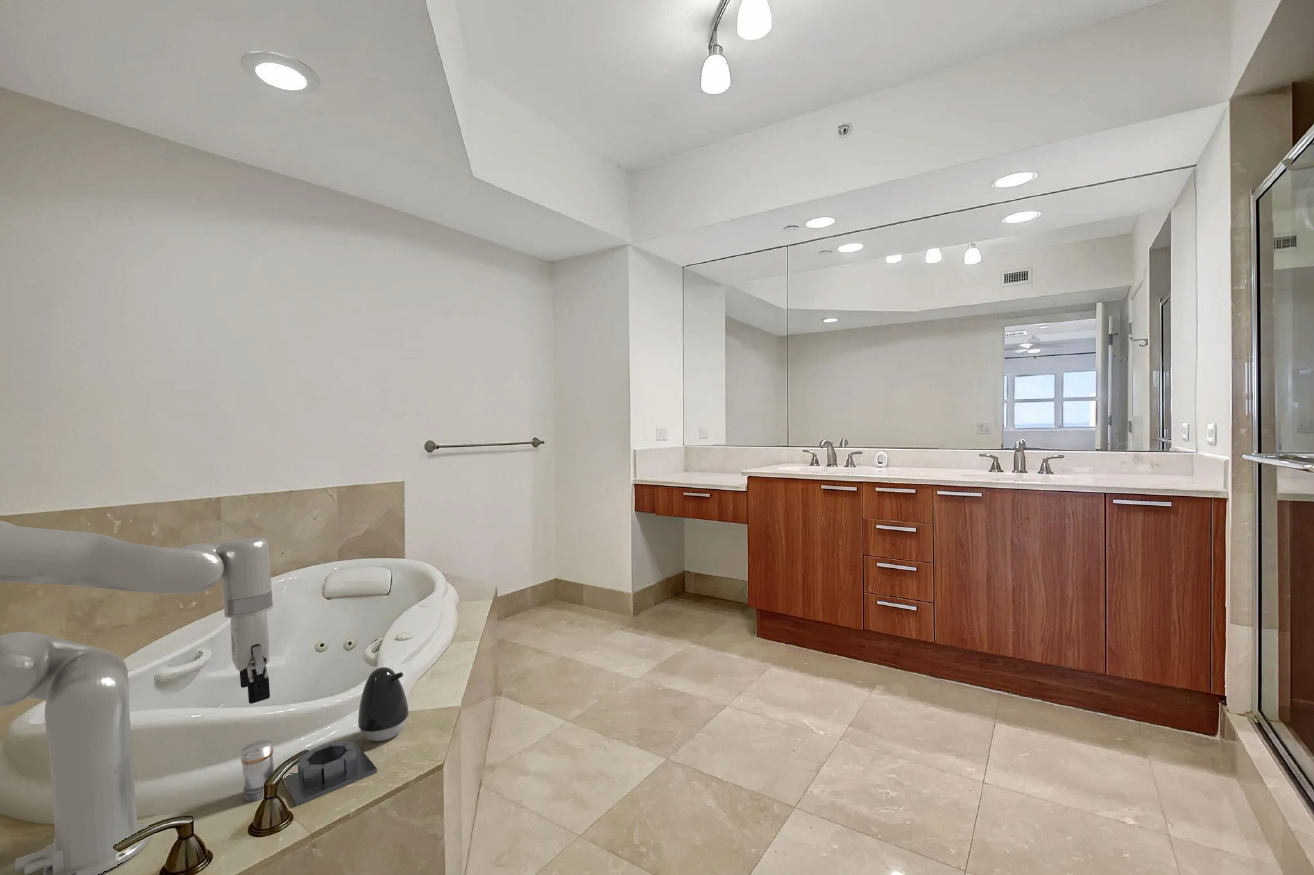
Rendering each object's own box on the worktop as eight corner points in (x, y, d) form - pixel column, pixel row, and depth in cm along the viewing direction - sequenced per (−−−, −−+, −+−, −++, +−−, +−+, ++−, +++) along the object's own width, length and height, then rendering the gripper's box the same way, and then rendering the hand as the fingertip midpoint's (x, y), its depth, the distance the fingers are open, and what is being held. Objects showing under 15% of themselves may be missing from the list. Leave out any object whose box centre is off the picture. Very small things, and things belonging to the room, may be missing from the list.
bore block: (295, 806, 105) (294, 785, 105) (280, 775, 115) (279, 756, 115) (377, 772, 114) (375, 753, 114) (356, 746, 125) (355, 728, 125)
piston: (246, 805, 106) (242, 757, 106) (242, 793, 109) (238, 747, 109) (278, 792, 109) (274, 746, 109) (273, 781, 113) (270, 736, 113)
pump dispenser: (390, 749, 123) (386, 679, 122) (348, 746, 125) (344, 677, 124) (419, 724, 133) (416, 659, 132) (380, 722, 135) (376, 658, 134)
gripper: (218, 600, 113) (224, 686, 113) (230, 618, 100) (237, 715, 100) (264, 591, 118) (270, 673, 118) (281, 607, 105) (287, 699, 105)
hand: (255, 692), depth 109 cm, fingers open, 9 cm apart
